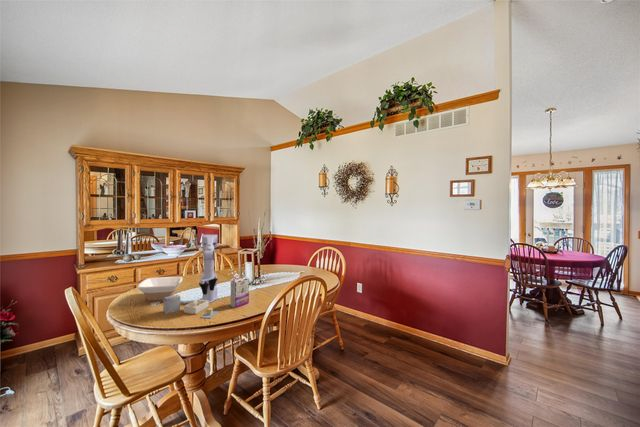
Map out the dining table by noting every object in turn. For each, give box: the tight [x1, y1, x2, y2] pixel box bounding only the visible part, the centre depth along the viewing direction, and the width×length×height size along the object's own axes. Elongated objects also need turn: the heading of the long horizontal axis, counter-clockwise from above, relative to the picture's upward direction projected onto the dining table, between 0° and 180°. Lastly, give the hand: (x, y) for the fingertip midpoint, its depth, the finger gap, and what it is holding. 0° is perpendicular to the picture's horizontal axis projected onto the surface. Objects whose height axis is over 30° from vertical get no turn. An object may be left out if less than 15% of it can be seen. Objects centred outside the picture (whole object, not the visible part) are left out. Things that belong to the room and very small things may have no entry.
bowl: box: [137, 276, 183, 302], centre depth 183 cm, size 24×25×11 cm
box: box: [183, 298, 210, 315], centre depth 164 cm, size 12×8×4 cm, turn 167°
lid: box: [199, 307, 220, 320], centre depth 157 cm, size 10×6×4 cm, turn 174°
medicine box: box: [162, 294, 181, 315], centre depth 160 cm, size 8×4×9 cm, turn 141°
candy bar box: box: [230, 276, 250, 309], centre depth 174 cm, size 11×5×16 cm, turn 149°
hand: (208, 292), depth 166 cm, fingers open, 7 cm apart
